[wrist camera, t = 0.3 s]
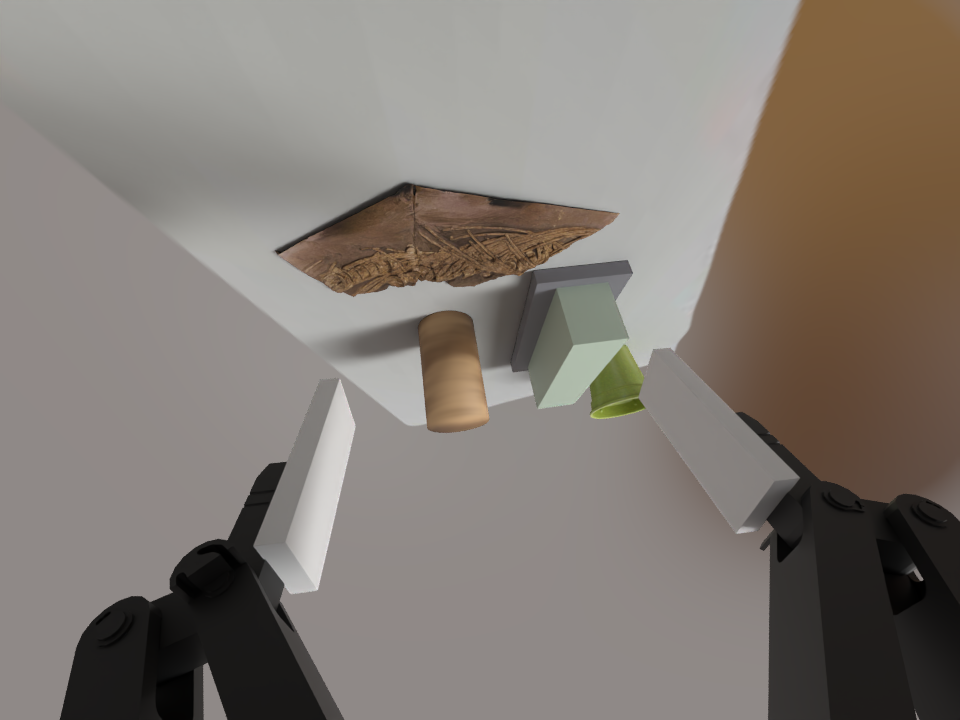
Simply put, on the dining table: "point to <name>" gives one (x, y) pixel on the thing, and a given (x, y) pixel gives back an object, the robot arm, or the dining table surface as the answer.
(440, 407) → the tan wooden cylinder
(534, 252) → the wooden fragment
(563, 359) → the block
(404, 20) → the dining table surface
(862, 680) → the robot arm
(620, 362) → the plant pot
